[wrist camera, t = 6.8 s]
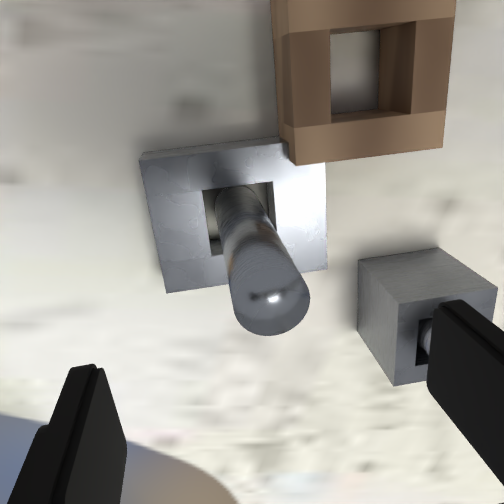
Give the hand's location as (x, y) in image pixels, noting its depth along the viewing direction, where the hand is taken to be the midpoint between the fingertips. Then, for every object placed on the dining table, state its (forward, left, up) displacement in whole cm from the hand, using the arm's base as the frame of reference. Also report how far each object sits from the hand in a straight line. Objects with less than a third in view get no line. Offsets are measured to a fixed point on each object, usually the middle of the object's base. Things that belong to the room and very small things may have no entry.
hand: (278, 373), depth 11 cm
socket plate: (-1, 0, -16) cm, 16 cm away
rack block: (-7, -7, -16) cm, 19 cm away
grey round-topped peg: (-1, 0, -16) cm, 16 cm away
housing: (-12, +8, -16) cm, 21 cm away
